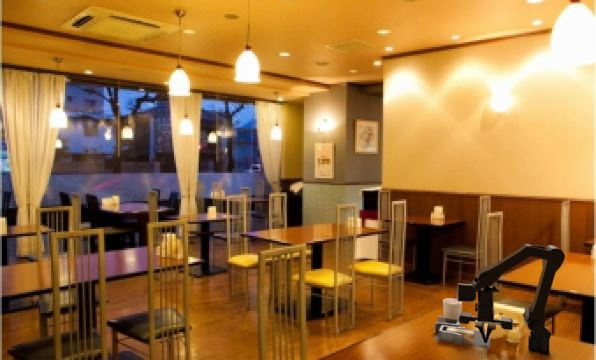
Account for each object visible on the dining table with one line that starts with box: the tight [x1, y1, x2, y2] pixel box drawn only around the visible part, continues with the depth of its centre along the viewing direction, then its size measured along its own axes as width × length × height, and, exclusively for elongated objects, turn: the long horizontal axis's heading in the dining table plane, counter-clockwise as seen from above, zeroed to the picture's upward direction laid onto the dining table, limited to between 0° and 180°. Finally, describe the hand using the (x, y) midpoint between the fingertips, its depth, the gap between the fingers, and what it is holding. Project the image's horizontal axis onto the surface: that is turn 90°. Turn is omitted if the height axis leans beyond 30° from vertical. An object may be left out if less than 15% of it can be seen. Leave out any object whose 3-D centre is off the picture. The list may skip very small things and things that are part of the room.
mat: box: [433, 328, 492, 349], centre depth 183 cm, size 20×17×1 cm
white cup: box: [442, 298, 463, 325], centre depth 198 cm, size 8×8×10 cm
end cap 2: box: [438, 325, 466, 347], centre depth 180 cm, size 9×10×4 cm
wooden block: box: [446, 327, 474, 344], centre depth 178 cm, size 10×4×4 cm, turn 63°
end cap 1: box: [434, 315, 461, 334], centre depth 189 cm, size 9×10×4 cm
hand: (485, 342), depth 174 cm, fingers closed
